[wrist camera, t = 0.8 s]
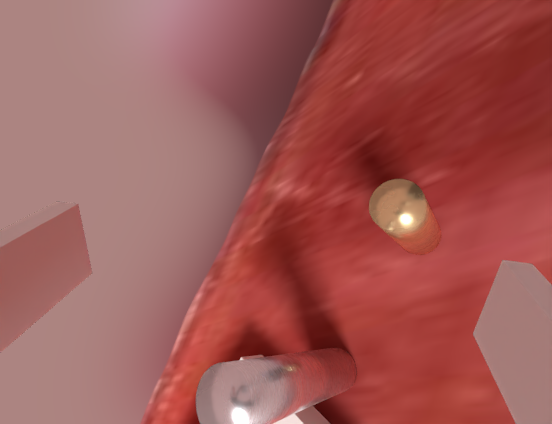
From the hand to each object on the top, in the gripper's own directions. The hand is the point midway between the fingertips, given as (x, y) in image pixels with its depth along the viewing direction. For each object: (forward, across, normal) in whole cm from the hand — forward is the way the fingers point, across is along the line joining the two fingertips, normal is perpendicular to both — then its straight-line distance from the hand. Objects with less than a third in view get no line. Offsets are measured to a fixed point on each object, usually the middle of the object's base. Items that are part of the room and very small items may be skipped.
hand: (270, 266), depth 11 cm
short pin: (+19, +10, -8) cm, 23 cm away
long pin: (+13, +4, -19) cm, 24 cm away
